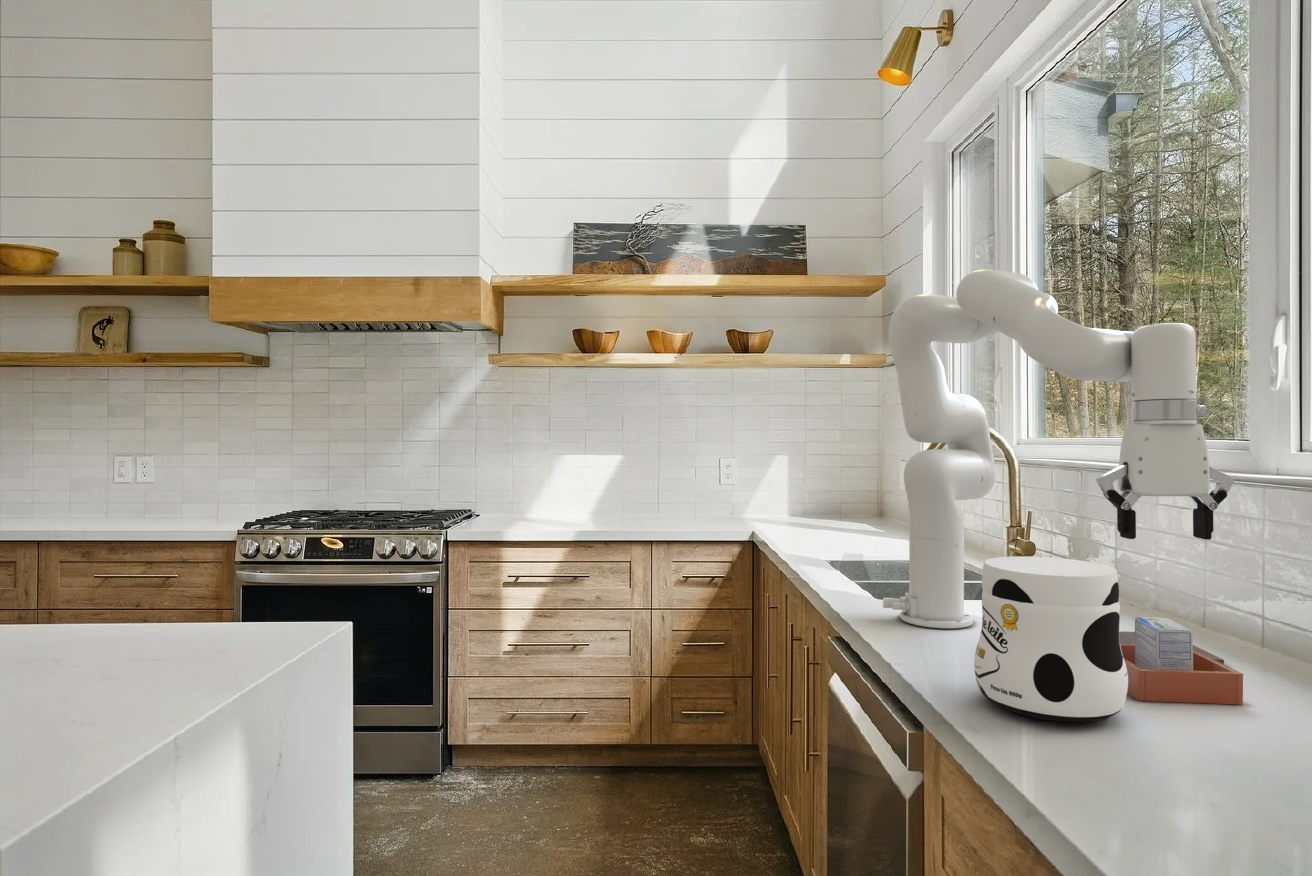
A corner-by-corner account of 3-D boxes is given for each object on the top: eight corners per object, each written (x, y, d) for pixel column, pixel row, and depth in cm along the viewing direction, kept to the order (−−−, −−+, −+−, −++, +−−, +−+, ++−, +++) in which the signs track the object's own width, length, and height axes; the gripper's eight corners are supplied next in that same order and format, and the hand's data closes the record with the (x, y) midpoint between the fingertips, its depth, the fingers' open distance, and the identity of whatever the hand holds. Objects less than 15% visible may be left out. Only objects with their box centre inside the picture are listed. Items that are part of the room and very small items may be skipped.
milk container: (944, 696, 105) (945, 559, 104) (1040, 679, 111) (1040, 551, 111) (1057, 743, 89) (1058, 582, 88) (1161, 721, 96) (1162, 572, 95)
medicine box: (1194, 696, 105) (1194, 630, 104) (1156, 694, 105) (1157, 629, 105) (1168, 678, 112) (1168, 617, 112) (1133, 676, 113) (1134, 615, 113)
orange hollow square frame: (1138, 700, 103) (1138, 670, 103) (1092, 669, 116) (1092, 642, 116) (1243, 704, 101) (1243, 673, 101) (1184, 672, 115) (1184, 645, 115)
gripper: (1214, 414, 112) (1215, 535, 112) (1086, 415, 114) (1087, 534, 114) (1248, 412, 105) (1249, 542, 105) (1110, 413, 107) (1111, 541, 107)
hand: (1164, 538), depth 109 cm, fingers open, 9 cm apart
